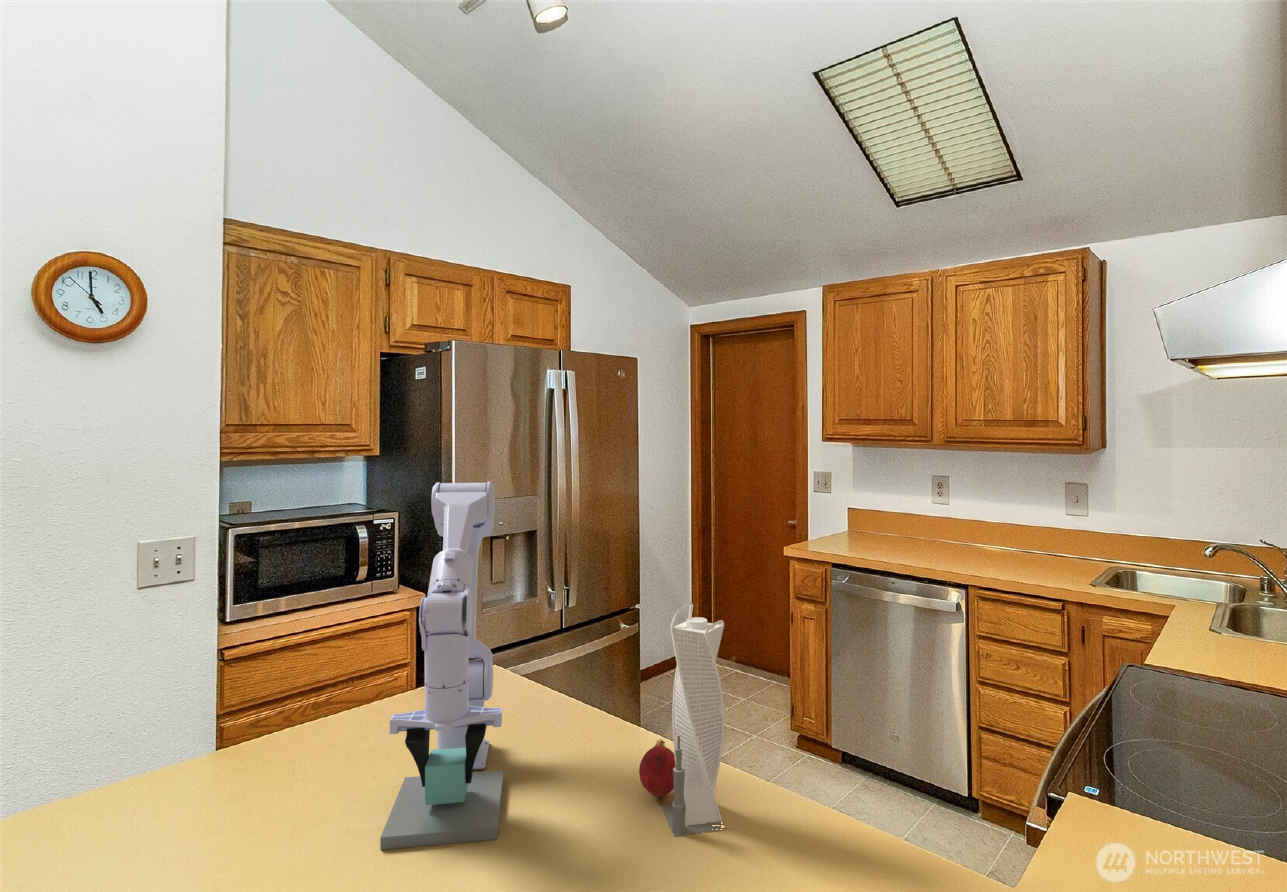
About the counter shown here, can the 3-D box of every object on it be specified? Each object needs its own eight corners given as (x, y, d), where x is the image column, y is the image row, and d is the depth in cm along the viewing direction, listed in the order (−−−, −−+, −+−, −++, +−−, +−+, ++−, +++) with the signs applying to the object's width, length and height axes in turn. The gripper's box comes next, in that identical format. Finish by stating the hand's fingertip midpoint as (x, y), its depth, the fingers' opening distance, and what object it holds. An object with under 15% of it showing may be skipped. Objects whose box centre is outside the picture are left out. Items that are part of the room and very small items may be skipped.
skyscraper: (659, 803, 93) (658, 602, 93) (714, 797, 95) (714, 599, 95) (674, 838, 85) (673, 617, 85) (735, 830, 87) (734, 614, 86)
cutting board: (405, 787, 97) (405, 777, 97) (503, 779, 99) (503, 769, 99) (380, 849, 82) (380, 837, 82) (496, 838, 84) (496, 827, 84)
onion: (677, 810, 91) (676, 751, 91) (635, 806, 92) (635, 748, 92) (683, 788, 96) (682, 733, 96) (643, 785, 98) (643, 730, 98)
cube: (431, 785, 93) (431, 749, 93) (468, 782, 94) (468, 747, 94) (425, 805, 88) (424, 766, 88) (464, 801, 89) (464, 763, 89)
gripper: (383, 695, 86) (384, 801, 86) (499, 688, 88) (500, 791, 88) (395, 676, 93) (396, 774, 93) (502, 670, 95) (503, 766, 95)
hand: (447, 781), depth 91 cm, fingers closed on cube, 5 cm apart
